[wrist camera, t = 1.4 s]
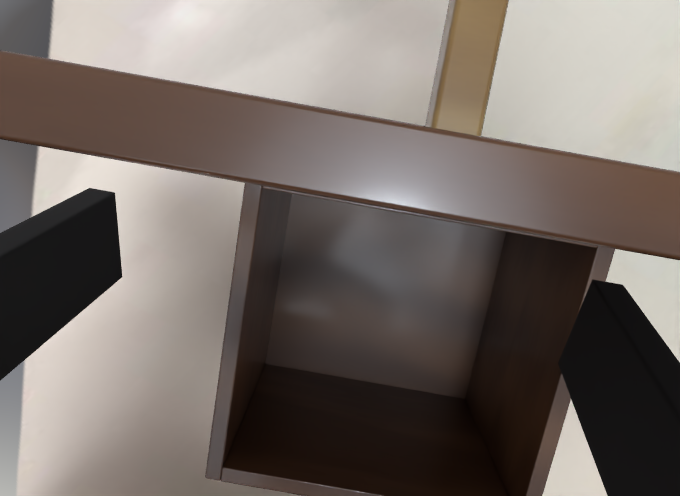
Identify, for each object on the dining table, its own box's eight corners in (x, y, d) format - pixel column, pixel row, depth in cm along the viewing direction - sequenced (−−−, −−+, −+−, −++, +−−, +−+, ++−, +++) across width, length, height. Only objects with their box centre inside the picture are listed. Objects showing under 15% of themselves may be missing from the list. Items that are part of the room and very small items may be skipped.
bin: (470, 404, 37) (530, 535, 24) (255, 367, 37) (204, 478, 24) (521, 203, 34) (620, 233, 21) (286, 160, 34) (246, 166, 21)
